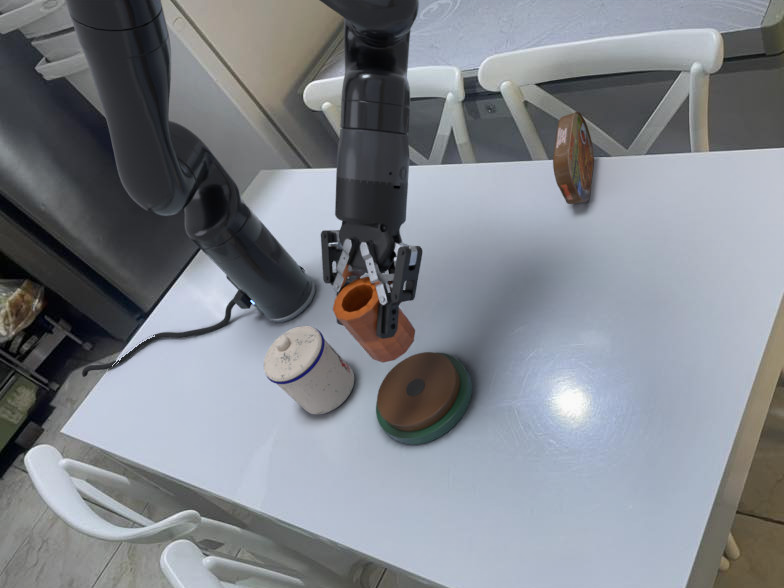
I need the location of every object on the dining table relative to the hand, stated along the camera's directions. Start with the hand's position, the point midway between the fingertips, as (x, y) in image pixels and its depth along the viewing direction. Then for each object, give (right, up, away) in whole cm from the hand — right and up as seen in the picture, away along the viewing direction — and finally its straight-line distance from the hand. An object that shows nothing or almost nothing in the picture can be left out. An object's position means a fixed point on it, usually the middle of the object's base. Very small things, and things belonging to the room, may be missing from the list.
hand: (365, 330), depth 79 cm
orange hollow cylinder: (+3, -1, +4) cm, 5 cm away
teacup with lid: (-9, -7, +21) cm, 24 cm away
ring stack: (+6, -8, +12) cm, 16 cm away
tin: (+28, +23, +25) cm, 44 cm away
